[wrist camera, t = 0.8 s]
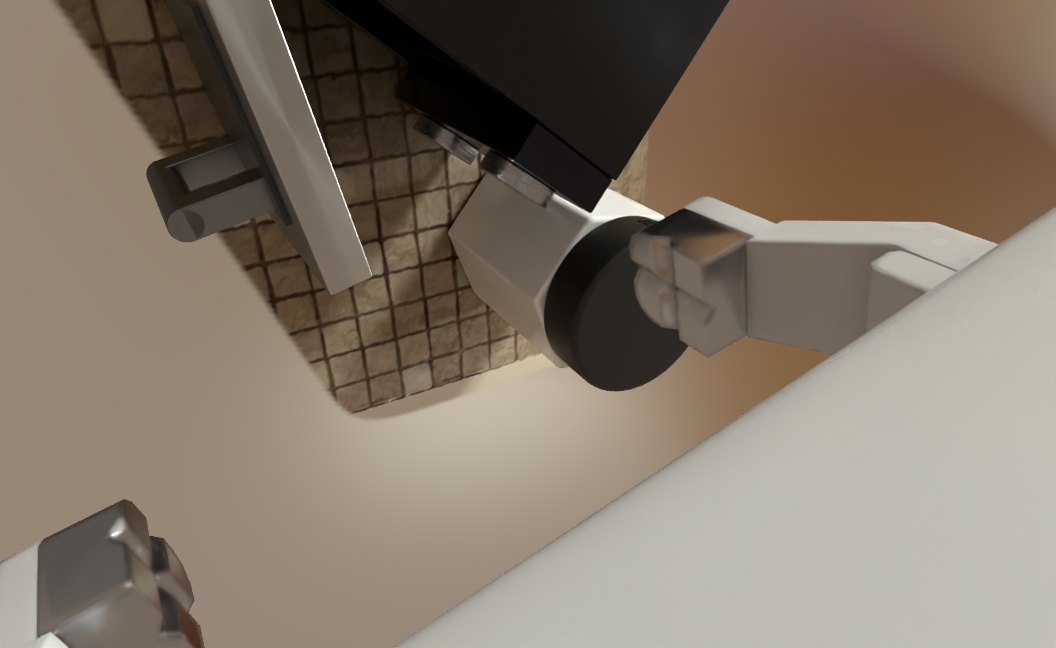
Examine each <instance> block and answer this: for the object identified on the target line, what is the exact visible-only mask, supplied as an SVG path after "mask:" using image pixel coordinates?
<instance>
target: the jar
mask: <svg viewBox="0 0 1056 648" xmlns="http://www.w3.org/2000/svg"><path fill="white" fill-rule="evenodd" d="M662 219H664V216H663V215H661V214H659V213H657V212H655V211H653V210H651V209H649V208H647V207H645V206H643V205H641V204H639V203H637V202H635V201H633V200H631V199H629V198H627V197H625V196H622V195H620V194H618V193H616V192H614V191H612V190H610V189H608V188H607V189H606V191H605V193H604V194H603V196H602V197H601V199H600V201H599V202H598V204H597V205H596V207H595V209H594V210H593V212H592V213H588V212H587V211H585V210H583V209H581V208H579V207H578V206H576V205H574V204H572V203H570V202H568V201H567V200H565V199H563V198H561V197H559V196H558V195H556V194H555V195H554V196H553V198H552V200H551V201H550V203H549V205H548V206H547V208H546V209H544V208H542V207H540V206H538V205H537V204H535V203H533V202H532V201H530V200H528V199H527V198H525V197H523V196H522V195H520V194H519V193H517V192H515V191H514V190H512V189H511V188H509V187H508V186H506V185H504V184H503V183H501V182H500V181H498V180H497V179H495V178H494V177H492V176H491V175H489V174H488V173H486V174H485V176H484V177H483V179H482V180H481V182H480V183H479V185H478V186H477V188H476V189H475V191H474V193H473V194H472V196H471V197H470V199H469V200H468V202H467V203H466V205H465V206H464V208H463V209H462V211H461V212H460V214H459V215H458V217H457V218H456V220H455V222H454V223H453V225H452V226H451V228H450V229H449V231H448V235H449V237H450V239H451V242H452V244H453V246H454V248H455V251H456V253H457V255H458V257H459V260H460V262H461V264H462V266H463V269H464V271H465V273H466V275H467V278H468V280H469V282H470V285H471V287H472V289H473V291H474V293H475V294H476V295H477V296H478V297H479V298H480V299H481V300H483V301H484V302H485V303H486V304H487V305H488V306H489V307H491V308H492V309H493V310H494V311H495V312H496V313H497V314H498V315H500V316H501V317H502V318H503V319H504V320H505V321H506V322H508V323H509V324H510V325H511V326H512V327H513V328H514V329H515V330H517V331H518V332H519V333H520V334H521V335H522V336H523V337H525V338H526V339H527V340H528V341H529V342H530V343H531V344H532V345H534V346H535V347H536V348H537V349H538V350H539V351H540V352H542V353H543V354H544V355H545V356H546V357H547V358H548V359H549V360H551V361H552V362H553V363H554V364H555V365H556V366H557V367H559V368H565V367H571V368H572V369H573V370H574V371H575V372H576V373H578V374H579V375H580V376H581V377H582V378H583V379H585V380H586V381H587V382H588V383H590V384H591V385H593V386H595V387H597V388H599V389H602V390H606V391H624V390H630V389H633V388H636V387H639V386H642V385H644V384H646V383H648V382H650V381H651V380H653V379H655V378H656V377H658V376H659V375H660V374H662V373H663V372H665V371H666V370H667V369H668V368H669V367H670V366H671V365H673V363H674V362H675V361H676V360H677V359H678V358H679V357H680V356H681V355H682V354H683V352H684V351H685V350H686V349H687V347H688V346H689V345H687V344H686V343H684V342H683V341H681V340H680V338H679V333H678V329H670V328H662V327H660V326H659V325H657V324H656V323H654V322H653V321H651V319H650V318H649V317H648V316H647V315H646V314H645V313H644V312H643V310H642V308H641V306H640V304H639V302H638V300H637V298H636V293H635V288H634V282H633V281H634V278H635V276H636V273H637V270H638V268H639V266H638V265H637V264H636V263H635V262H633V261H632V260H631V259H630V252H629V243H630V238H631V236H632V235H634V234H636V233H638V232H640V231H641V230H643V229H645V228H647V227H649V226H651V225H653V224H655V223H656V222H658V221H660V220H662Z"/></svg>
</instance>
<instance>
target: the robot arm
mask: <svg viewBox="0 0 1056 648" xmlns="http://www.w3.org/2000/svg"><path fill="white" fill-rule="evenodd" d="M629 252H630V259H631V260H632V261H633V262H635V263H636V264H637V265H638V266H639V268H638V270H637V273H636V276H635V278H634V281H633V282H634V288H635V293H636V298H637V300H638V302H639V304H640V306H641V308H642V310H643V312H644V313H645V314H646V315H647V316H648V317H649V318H650V319H651V321H653V322H654V323H656V324H657V325H659V326H660V327H662V328H670V329H678V333H679V338H680V340H681V341H683V342H684V343H686V344H687V345H689V346H690V347H692V348H693V349H695V350H697V351H698V352H699V353H701V354H702V355H704V356H706V357H707V358H709V357H710V356H712V355H714V354H715V353H717V352H719V351H721V350H722V349H724V348H726V347H727V346H729V345H731V344H733V343H734V342H736V341H738V340H739V339H741V338H743V337H745V336H746V335H748V337H749V338H754V339H758V340H763V341H768V342H773V343H778V344H782V345H787V346H793V347H797V348H802V349H806V350H811V351H816V352H821V353H826V354H831V355H832V356H831V357H829V358H827V359H826V360H825V361H823V362H821V363H820V364H818V365H817V366H815V367H814V368H812V369H811V370H809V371H808V372H807V373H805V374H803V375H802V376H800V377H799V378H797V379H796V380H795V381H793V382H791V383H790V384H789V385H787V386H785V387H784V388H782V389H781V390H779V391H778V392H777V393H775V394H773V395H772V396H770V397H769V398H767V399H766V400H764V401H763V402H761V403H760V404H758V405H757V406H755V407H754V408H752V409H751V410H749V411H748V412H746V413H745V414H743V415H742V416H740V417H739V418H737V419H736V420H734V421H733V422H731V423H730V424H728V425H727V426H725V427H724V428H722V429H721V430H719V431H718V432H716V433H715V434H713V435H711V436H710V437H708V438H707V439H705V440H704V441H702V442H701V443H699V444H698V445H696V446H695V447H694V448H692V449H690V450H689V451H687V452H686V453H685V454H683V455H681V456H680V457H678V458H677V459H675V460H674V461H672V462H671V463H669V464H668V465H666V466H665V467H663V468H662V469H660V470H659V471H657V472H656V473H654V474H653V475H651V476H650V477H648V478H647V479H645V480H643V481H642V482H640V483H639V484H637V485H636V486H635V487H633V488H632V489H630V490H628V491H627V492H625V493H624V494H623V495H621V496H620V497H618V498H616V499H615V500H613V501H612V502H611V503H609V504H607V505H606V506H604V507H603V508H601V509H600V510H599V511H597V512H595V513H594V514H592V515H591V516H590V517H588V518H586V519H585V520H583V521H582V522H580V523H579V524H577V525H576V526H574V527H573V528H571V529H570V530H569V531H567V532H565V533H564V534H562V535H561V536H559V537H558V538H556V539H555V540H553V541H552V542H550V543H549V544H548V545H546V546H544V547H543V548H542V549H540V550H538V551H537V552H536V553H534V554H532V555H531V556H529V557H528V558H526V559H525V560H523V561H522V562H520V563H519V564H517V565H516V566H514V567H513V568H511V569H510V570H508V571H507V572H505V573H504V574H502V575H501V576H499V577H498V578H496V579H495V580H493V581H492V582H490V583H489V584H487V585H486V586H484V587H483V588H481V589H480V590H478V591H477V592H475V593H474V594H472V595H471V596H469V597H468V598H466V599H465V600H463V601H462V602H460V603H459V604H457V605H456V606H454V607H453V608H451V609H450V610H448V611H447V612H445V613H444V614H442V615H441V616H439V617H438V618H436V619H435V620H433V621H432V622H430V623H429V624H427V625H426V626H424V627H423V628H421V629H420V630H418V631H417V632H415V633H414V634H412V635H411V636H409V637H408V638H406V639H405V640H403V641H402V642H400V643H399V644H397V645H396V646H394V647H393V648H1056V207H1054V208H1053V209H1051V210H1050V211H1048V212H1047V213H1045V214H1044V215H1042V216H1041V217H1039V218H1038V219H1036V220H1035V221H1033V222H1032V223H1030V224H1029V225H1027V226H1026V227H1024V228H1023V229H1021V230H1020V231H1018V232H1017V233H1015V234H1014V235H1012V236H1011V237H1009V238H1008V239H1006V240H1005V241H1003V242H1002V243H1000V244H999V245H998V244H996V243H993V242H990V241H987V240H984V239H981V238H978V237H975V236H972V235H969V234H966V233H963V232H961V231H958V230H955V229H952V228H949V227H946V226H943V225H940V224H937V223H934V222H864V221H860V222H859V221H782V222H780V223H778V224H774V223H772V222H770V221H767V220H765V219H762V218H760V217H758V216H755V215H753V214H750V213H748V212H745V211H743V210H741V209H738V208H736V207H733V206H731V205H728V204H726V203H724V202H721V201H719V200H716V199H714V198H711V197H700V198H699V199H697V200H695V201H693V202H692V203H690V204H688V205H686V206H684V207H683V208H681V209H679V210H678V211H677V212H675V213H673V214H671V215H670V216H668V217H666V218H664V219H662V220H660V221H658V222H656V223H655V224H653V225H651V226H649V227H647V228H645V229H643V230H641V231H640V232H638V233H636V234H634V235H632V236H631V238H630V243H629ZM193 602H194V596H193V592H192V588H191V584H190V581H189V579H188V577H187V574H186V572H185V570H184V567H183V565H182V563H181V562H180V560H179V558H178V557H177V555H176V554H175V552H174V551H173V549H172V548H171V547H170V546H169V545H168V543H167V542H166V541H165V540H164V538H159V537H153V536H149V532H148V526H147V521H146V517H145V516H144V515H143V514H142V513H141V511H140V510H139V509H138V508H137V507H136V506H135V505H134V504H133V503H132V502H131V501H128V500H124V499H123V500H121V501H120V502H117V503H115V504H114V505H111V506H109V507H107V508H105V509H103V510H101V511H99V512H97V513H95V514H93V515H91V516H89V517H87V518H85V519H83V520H81V521H79V522H77V523H75V524H73V525H71V526H69V527H67V528H65V529H63V530H61V531H59V532H57V533H55V534H53V535H51V536H49V537H47V538H45V539H44V540H43V541H40V542H37V543H35V544H33V545H32V546H29V547H28V548H26V549H24V550H22V551H20V552H18V553H16V554H14V555H12V556H10V557H8V558H6V559H5V560H2V561H1V562H0V648H205V647H204V642H203V637H202V632H201V628H200V625H199V624H198V623H197V622H196V620H195V619H194V618H193V617H192V616H191V615H190V614H189V611H190V608H191V606H192V604H193Z"/></svg>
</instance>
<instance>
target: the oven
mask: <svg viewBox="0 0 1056 648" xmlns="http://www.w3.org/2000/svg"><path fill="white" fill-rule="evenodd" d="M318 1H319V2H320V3H322V4H323V5H325V6H326V7H327V8H329V9H330V10H331V11H333V12H334V13H336V14H337V15H338V16H340V17H341V18H343V19H344V20H345V21H347V22H348V23H350V24H351V25H352V26H354V27H355V28H356V29H358V30H359V31H361V32H362V33H363V34H365V35H366V36H368V37H369V38H370V39H372V40H373V41H374V42H376V43H377V44H379V45H380V46H381V47H383V48H384V49H386V50H387V51H388V52H390V53H391V54H393V55H394V56H395V57H397V58H398V59H399V60H401V61H402V62H404V63H405V64H406V65H408V66H409V67H411V69H410V70H409V72H408V73H407V75H406V77H405V79H404V80H403V82H402V84H401V86H400V87H399V89H398V91H397V93H396V94H395V98H396V99H398V100H399V101H401V102H402V103H404V104H405V105H407V106H408V107H410V108H411V109H413V110H414V111H416V112H417V113H419V114H420V116H419V118H418V120H417V121H416V123H415V125H414V127H413V129H414V130H416V131H417V132H419V133H420V134H422V135H423V136H425V137H426V138H428V139H429V140H431V141H432V142H434V143H435V144H437V145H438V146H440V147H442V148H443V149H445V150H446V151H448V152H450V153H451V154H453V155H454V156H456V157H458V158H459V159H461V160H462V161H464V162H466V163H467V164H469V165H471V164H472V162H473V161H474V159H475V157H476V156H477V154H478V152H480V153H482V154H483V155H485V157H484V158H483V160H482V162H481V163H480V165H479V168H480V169H482V170H483V171H485V172H486V173H488V174H489V175H491V176H492V177H494V178H495V179H497V180H498V181H500V182H501V183H503V184H504V185H506V186H508V187H509V188H511V189H512V190H514V191H515V192H517V193H519V194H520V195H522V196H523V197H525V198H527V199H528V200H530V201H532V202H533V203H535V204H537V205H538V206H540V207H542V208H544V209H546V208H547V206H548V205H549V203H550V201H551V200H552V198H553V196H554V195H555V194H556V195H558V196H559V197H561V198H563V199H565V200H567V201H568V202H570V203H572V204H574V205H576V206H578V207H579V208H581V209H583V210H585V211H587V212H588V213H592V212H593V210H594V209H595V207H596V205H597V204H598V202H599V201H600V199H601V197H602V196H603V194H604V193H605V191H606V189H607V188H608V186H609V185H610V183H611V182H612V179H613V180H617V178H618V177H619V175H620V174H621V172H622V170H623V169H624V167H625V166H626V164H627V162H628V161H629V159H630V158H631V156H632V155H633V153H634V151H635V150H636V148H637V147H638V145H639V143H640V142H641V140H642V139H643V137H644V135H645V134H646V132H647V131H648V129H649V128H650V126H651V124H652V123H653V121H654V120H655V118H656V116H657V115H658V113H659V111H660V110H661V108H662V107H663V105H664V104H665V102H666V101H667V99H668V97H669V96H670V94H671V93H672V91H673V89H674V88H675V86H676V85H677V83H678V81H679V80H680V78H681V77H682V75H683V74H684V72H685V70H686V69H687V67H688V65H689V64H690V62H691V61H692V59H693V57H694V56H695V54H696V53H697V51H698V49H699V48H700V47H701V45H702V43H703V42H704V40H705V39H706V37H707V35H708V34H709V32H710V30H711V29H712V27H713V26H714V24H715V23H716V21H717V19H718V18H719V16H720V15H721V13H722V11H723V10H724V8H725V7H726V5H727V4H728V2H729V0H318Z"/></svg>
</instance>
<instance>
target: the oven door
mask: <svg viewBox="0 0 1056 648" xmlns="http://www.w3.org/2000/svg"><path fill="white" fill-rule="evenodd" d="M165 1H166V3H167V5H168V8H169V10H170V12H171V14H172V16H173V19H174V21H175V23H176V25H177V27H178V30H179V32H180V34H181V36H182V38H183V40H184V43H185V45H186V47H187V49H188V51H189V54H190V56H191V58H192V60H193V62H194V65H195V67H196V69H197V71H198V73H199V76H200V78H201V80H202V82H203V84H204V87H205V89H206V91H207V93H208V95H209V98H210V100H211V102H212V104H213V106H214V109H215V111H216V113H217V115H218V117H219V120H220V122H221V124H222V126H223V128H224V131H225V133H226V135H227V136H225V137H222V138H220V139H217V140H214V141H211V142H208V143H205V144H203V145H200V146H197V147H194V148H191V149H188V150H186V151H183V152H180V153H177V154H174V155H171V156H169V157H166V158H163V159H160V160H158V161H155V162H153V163H152V164H150V165H149V167H148V169H147V173H146V175H147V179H148V182H149V184H150V187H151V189H152V192H153V194H154V197H155V199H156V202H157V204H158V207H159V209H160V212H161V214H162V217H163V219H164V222H165V224H166V227H167V229H168V231H169V233H170V235H171V236H172V237H173V238H175V239H177V240H179V241H182V242H193V241H196V240H198V239H201V238H203V237H206V236H208V235H211V234H214V233H216V232H219V231H221V230H224V229H226V228H229V227H231V226H234V225H236V224H239V223H241V222H244V221H246V220H249V219H251V218H254V217H256V216H259V215H261V214H264V213H266V212H268V213H269V214H270V216H271V217H272V218H273V220H274V221H275V222H276V224H277V225H278V226H279V228H280V229H281V230H282V232H283V233H284V234H285V236H286V237H287V238H288V240H289V241H290V242H291V244H292V245H293V246H294V248H295V249H296V250H297V252H298V253H299V254H300V256H301V257H302V258H303V260H304V261H305V262H306V263H307V265H308V266H309V267H310V269H311V270H312V271H313V273H314V274H315V275H316V277H317V278H318V279H319V281H320V282H321V283H322V285H323V286H324V287H325V289H326V290H327V291H328V293H329V294H330V295H334V294H336V293H338V292H340V291H343V290H345V289H347V288H349V287H351V286H354V285H356V284H358V283H360V282H362V281H365V280H367V279H369V278H371V277H373V274H372V271H371V269H370V266H369V263H368V260H367V258H366V255H365V252H364V250H363V247H362V244H361V242H360V239H359V236H358V234H357V231H356V228H355V225H354V223H353V220H352V217H351V215H350V212H349V209H348V207H347V204H346V201H345V199H344V196H343V193H342V190H341V188H340V185H339V182H338V180H337V177H336V174H335V172H334V169H333V166H332V164H331V161H330V158H329V155H328V153H327V150H326V147H325V145H324V142H323V139H322V137H321V134H320V131H319V129H318V126H317V123H316V120H315V118H314V115H313V112H312V110H311V107H310V104H309V102H308V99H307V96H306V94H305V91H304V88H303V85H302V83H301V80H300V77H299V75H298V72H297V69H296V67H295V64H294V61H293V59H292V56H291V53H290V50H289V48H288V45H287V42H286V40H285V37H284V34H283V32H282V29H281V26H280V24H279V21H278V18H277V15H276V13H275V10H274V7H273V5H272V2H271V0H165ZM240 172H244V173H242V174H239V175H236V176H234V177H231V178H228V179H226V180H223V181H220V182H218V183H215V184H212V185H210V186H207V187H204V188H201V189H199V190H196V191H193V192H191V191H192V190H195V189H198V188H200V187H203V186H206V185H208V184H211V183H214V182H216V181H219V180H222V179H224V178H227V177H230V176H232V175H235V174H238V173H240Z"/></svg>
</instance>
